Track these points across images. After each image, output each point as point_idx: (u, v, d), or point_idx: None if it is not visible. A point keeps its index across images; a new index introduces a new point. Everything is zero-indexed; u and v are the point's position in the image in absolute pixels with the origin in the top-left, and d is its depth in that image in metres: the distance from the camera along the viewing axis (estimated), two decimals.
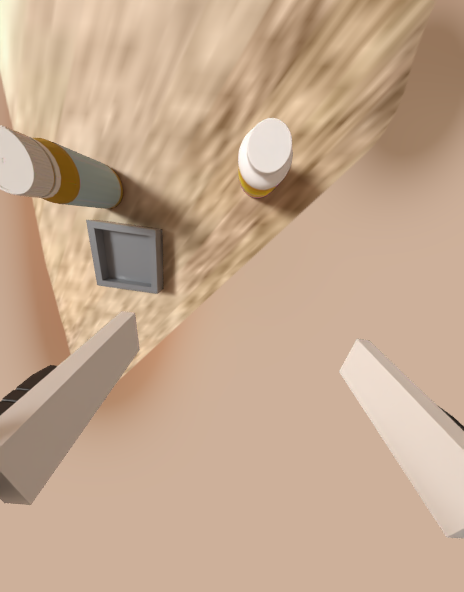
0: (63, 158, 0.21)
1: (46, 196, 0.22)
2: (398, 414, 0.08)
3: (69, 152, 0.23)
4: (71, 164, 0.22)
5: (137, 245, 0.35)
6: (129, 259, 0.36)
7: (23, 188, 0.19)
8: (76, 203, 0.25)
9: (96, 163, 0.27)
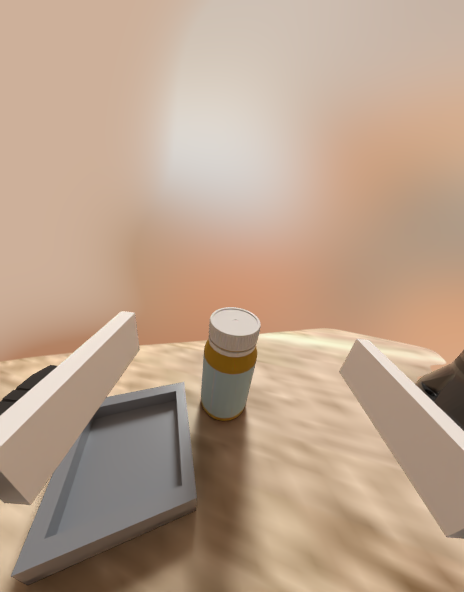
0: (251, 359, 0.21)
1: (213, 345, 0.21)
2: (398, 414, 0.08)
3: (254, 365, 0.23)
4: (249, 366, 0.21)
5: (157, 460, 0.20)
6: (127, 450, 0.20)
7: (219, 328, 0.20)
8: (208, 371, 0.22)
9: None
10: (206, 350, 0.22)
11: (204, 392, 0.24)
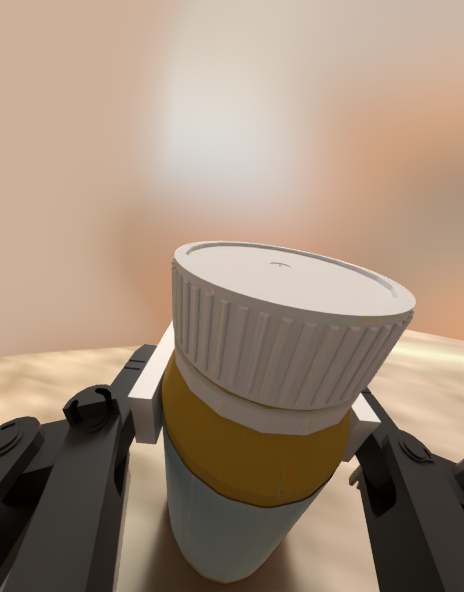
0: (348, 426, 0.05)
1: (186, 368, 0.04)
2: None
3: None
4: None
5: None
6: None
7: None
8: (173, 464, 0.06)
9: None
10: (166, 382, 0.06)
11: (169, 501, 0.08)
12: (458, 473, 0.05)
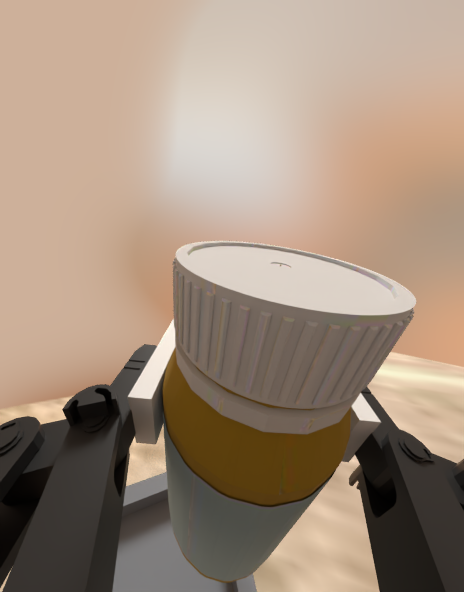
0: (348, 425, 0.05)
1: (187, 367, 0.05)
2: None
3: None
4: (343, 455, 0.05)
5: None
6: None
7: (217, 277, 0.03)
8: (174, 463, 0.06)
9: None
10: (167, 381, 0.06)
11: (170, 500, 0.08)
12: (458, 473, 0.05)
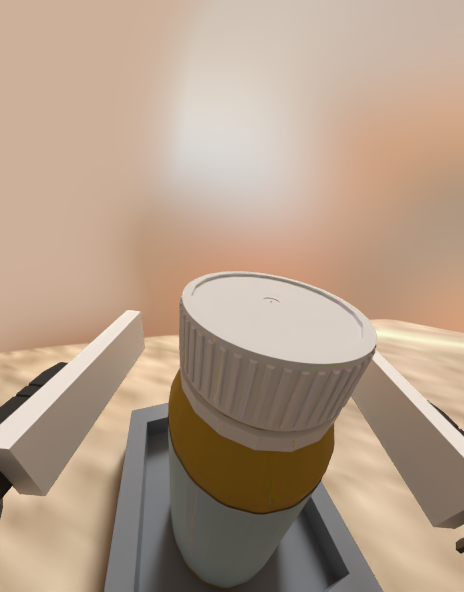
0: (331, 441, 0.06)
1: (191, 393, 0.05)
2: (389, 409, 0.08)
3: None
4: (326, 469, 0.06)
5: None
6: None
7: (216, 325, 0.04)
8: (178, 476, 0.06)
9: None
10: (172, 401, 0.07)
11: (173, 510, 0.09)
12: None
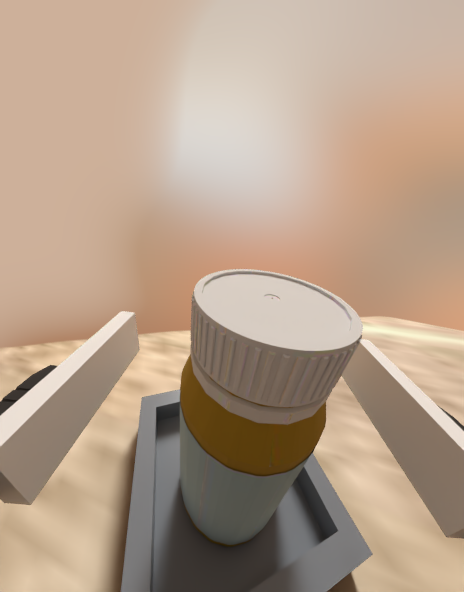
0: (323, 418, 0.07)
1: (203, 377, 0.06)
2: (398, 414, 0.08)
3: None
4: None
5: None
6: None
7: (226, 319, 0.05)
8: (190, 448, 0.07)
9: None
10: (184, 386, 0.08)
11: (184, 481, 0.10)
12: None
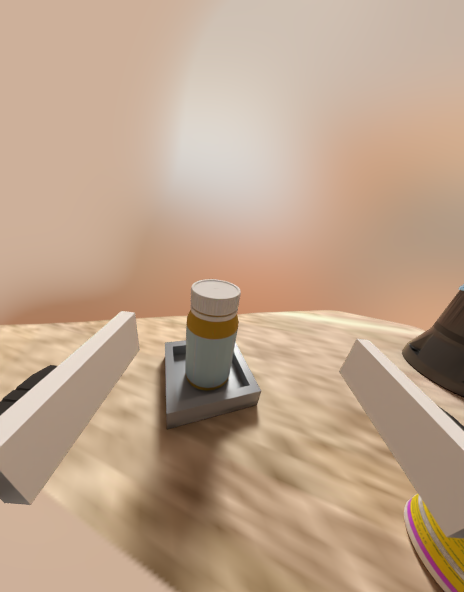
0: (232, 326, 0.22)
1: (194, 311, 0.21)
2: (398, 414, 0.08)
3: (236, 334, 0.24)
4: (229, 332, 0.22)
5: None
6: None
7: (199, 293, 0.20)
8: (190, 338, 0.23)
9: (231, 359, 0.26)
10: (188, 318, 0.23)
11: (187, 362, 0.25)
12: None
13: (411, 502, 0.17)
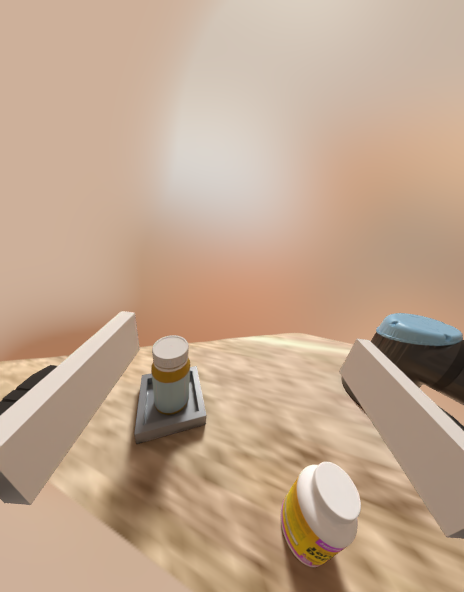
0: (181, 373, 0.32)
1: (154, 363, 0.31)
2: (398, 414, 0.08)
3: (187, 376, 0.34)
4: (179, 377, 0.32)
5: None
6: None
7: (156, 353, 0.30)
8: (153, 380, 0.32)
9: (186, 392, 0.36)
10: (152, 366, 0.33)
11: None
12: None
13: None
